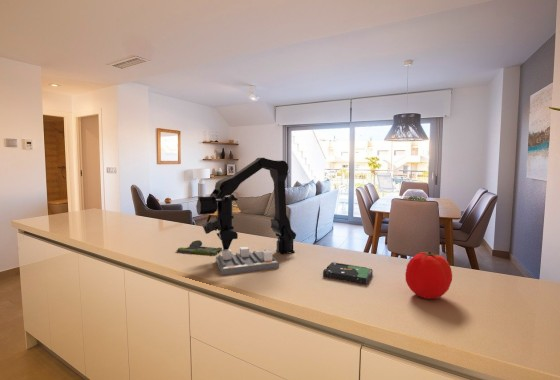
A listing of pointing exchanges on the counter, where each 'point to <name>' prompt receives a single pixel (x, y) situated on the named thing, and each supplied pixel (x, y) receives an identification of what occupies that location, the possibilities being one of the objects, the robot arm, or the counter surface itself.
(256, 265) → the switch bank
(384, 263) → the counter surface
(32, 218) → the counter surface
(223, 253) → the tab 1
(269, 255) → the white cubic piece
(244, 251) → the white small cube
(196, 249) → the gun
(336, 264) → the disk drive
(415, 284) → the tomato
